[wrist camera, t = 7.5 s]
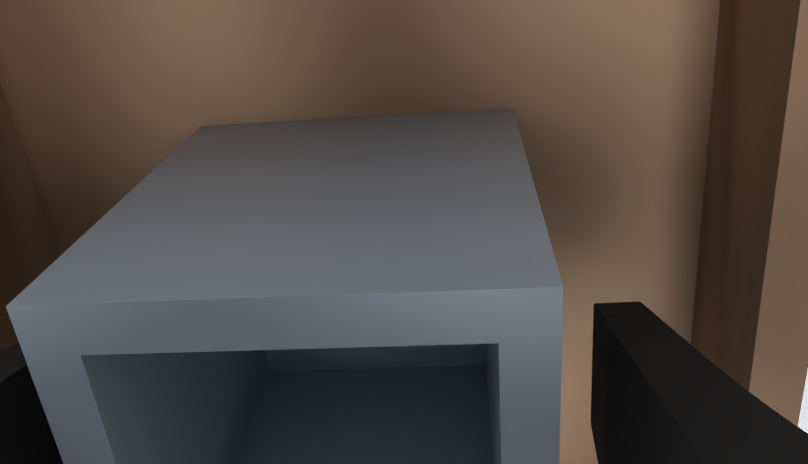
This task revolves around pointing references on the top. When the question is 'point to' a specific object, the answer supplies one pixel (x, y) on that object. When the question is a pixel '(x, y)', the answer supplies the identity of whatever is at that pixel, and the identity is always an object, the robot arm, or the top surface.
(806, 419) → the top surface
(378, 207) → the grey crate
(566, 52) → the walnut crate
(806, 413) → the top surface
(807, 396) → the top surface
